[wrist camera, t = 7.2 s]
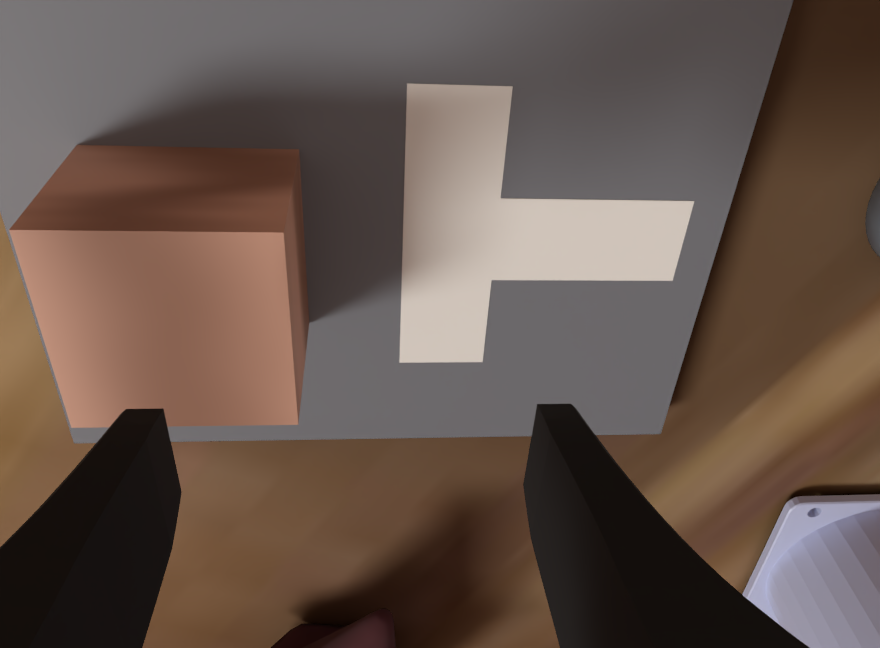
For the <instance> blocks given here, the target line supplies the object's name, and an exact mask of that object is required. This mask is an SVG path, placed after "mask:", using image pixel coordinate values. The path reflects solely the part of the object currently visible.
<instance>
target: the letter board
mask: <svg viewBox="0 0 880 648" xmlns="http://www.w3.org/2000/svg"><path fill="white" fill-rule="evenodd" d="M792 3H793V0H0V212H1V215H2V218H3V221H4V225H5V228H6V231H7V234H8V237H9V240H10V243H11V247H12V250H13V253H14V256H15V259H16V262H17V265H18V269H19V272H20V275H21V278H22V281H23V284H24V287H25V291H26V294H27V297H28V300H29V303H30V306H31V309H32V313H33V316H34V319H35V322H36V325H37V328H38V331H39V335H40V338H41V341H42V344H43V347H44V350H45V353H46V357H47V360H48V363H49V366H50V369H51V372H52V375H53V379H54V382H55V385H56V388H57V391H58V394H59V397H60V401H61V404H62V407H63V410H64V413H65V416H66V419H67V423H68V426H69V429H70V432H71V435H72V438H73V441H74V443H97V442H98V440H99V439H100V438H101V437H102V436H103V434H104V433H105V432H106V431H107V430H108V428H109V427H98V428H71V425H70V422H69V419H68V415H67V412H66V409H65V406H64V403H63V400H62V396H61V393H60V390H59V387H58V384H57V381H56V377H55V374H54V371H53V368H52V365H51V362H50V358H49V355H48V352H47V349H46V346H45V342H44V339H43V336H42V333H41V330H40V327H39V323H38V320H37V317H36V314H35V311H34V308H33V304H32V301H31V298H30V295H29V292H28V289H27V285H26V282H25V279H24V276H23V273H22V269H21V266H20V263H19V260H18V257H17V254H16V250H15V247H14V244H13V241H12V238H11V235H10V231H9V229H10V228H11V227H12V226H13V224H14V223H15V222H16V221H17V219H18V218H19V217H20V216H21V214H22V213H23V212H24V210H25V209H26V208H27V207H28V205H29V204H30V203H31V202H32V200H33V199H34V198H35V197H36V195H37V194H38V193H39V192H40V190H41V189H42V188H43V187H44V185H45V184H46V183H47V182H48V180H49V179H50V178H51V177H52V175H53V174H54V173H55V171H56V170H57V169H58V168H59V166H60V165H61V164H62V163H63V161H64V160H65V159H66V158H67V156H68V155H69V154H70V153H71V151H72V150H73V149H74V148H75V146H76V145H105V146H156V147H206V148H256V149H299V155H300V172H301V190H302V207H303V224H304V241H305V258H306V275H307V293H308V310H309V330H308V339H307V349H306V358H305V367H304V376H303V386H302V395H301V404H300V413H299V422H298V425H244V426H171V427H168V432H169V437H170V441H171V442H187V441H250V440H313V439H376V438H439V437H502V436H532V431H533V425H534V420H535V414H536V408H537V404H572V405H573V406H574V407H575V408H576V409H577V411H578V412H579V413H580V415H581V416H582V417H583V419H584V420H585V422H586V423H587V424H588V426H589V427H590V429H591V430H592V431H593V433H594V434H595V435H628V434H661V431H662V428H663V424H664V421H665V418H666V415H667V411H668V408H669V405H670V402H671V398H672V395H673V392H674V388H675V385H676V382H677V379H678V375H679V372H680V369H681V366H682V362H683V359H684V356H685V353H686V349H687V346H688V343H689V340H690V336H691V333H692V330H693V326H694V323H695V320H696V317H697V313H698V310H699V307H700V304H701V300H702V297H703V294H704V291H705V287H706V284H707V281H708V277H709V274H710V271H711V268H712V264H713V261H714V258H715V255H716V251H717V248H718V245H719V242H720V238H721V235H722V232H723V229H724V225H725V222H726V219H727V215H728V212H729V209H730V206H731V202H732V199H733V196H734V193H735V189H736V186H737V183H738V180H739V176H740V173H741V170H742V166H743V163H744V160H745V157H746V153H747V150H748V147H749V144H750V140H751V137H752V134H753V131H754V127H755V124H756V121H757V117H758V114H759V111H760V108H761V104H762V101H763V98H764V95H765V91H766V88H767V85H768V82H769V78H770V75H771V72H772V69H773V65H774V62H775V59H776V55H777V52H778V49H779V46H780V42H781V39H782V36H783V33H784V29H785V26H786V23H787V20H788V16H789V13H790V10H791V6H792Z"/></svg>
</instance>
